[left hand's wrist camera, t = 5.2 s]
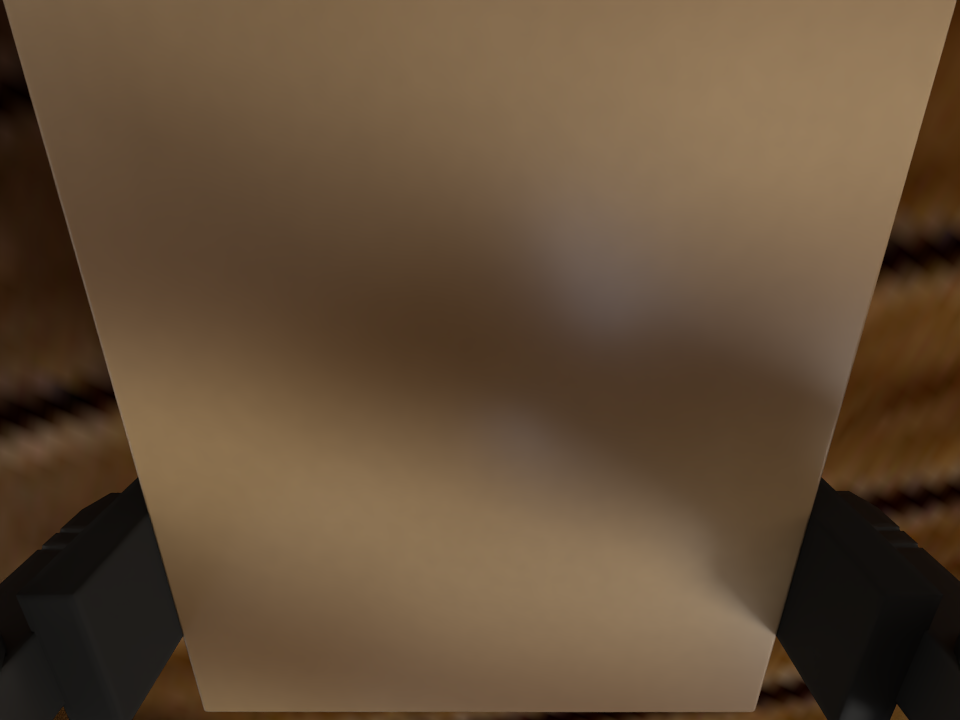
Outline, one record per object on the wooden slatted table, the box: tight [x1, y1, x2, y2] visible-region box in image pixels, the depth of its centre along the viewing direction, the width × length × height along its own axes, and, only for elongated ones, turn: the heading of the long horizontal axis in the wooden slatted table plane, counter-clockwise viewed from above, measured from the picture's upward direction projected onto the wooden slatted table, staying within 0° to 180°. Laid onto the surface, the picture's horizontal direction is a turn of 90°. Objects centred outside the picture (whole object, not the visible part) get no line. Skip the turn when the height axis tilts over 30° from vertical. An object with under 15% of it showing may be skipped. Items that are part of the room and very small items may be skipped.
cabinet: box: [3, 0, 956, 712], centre depth 11 cm, size 16×11×8 cm, turn 0°
